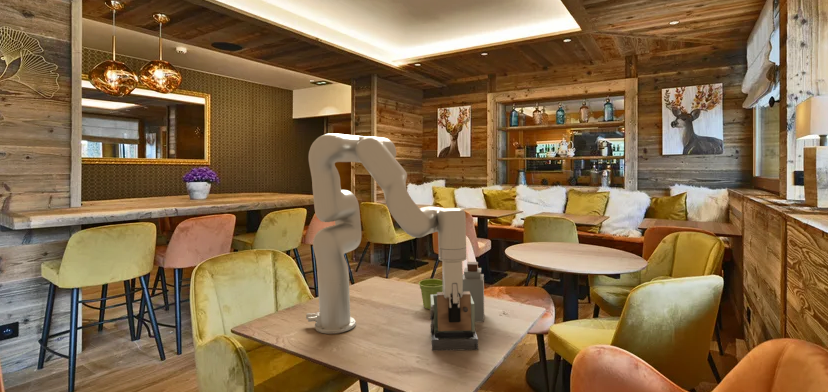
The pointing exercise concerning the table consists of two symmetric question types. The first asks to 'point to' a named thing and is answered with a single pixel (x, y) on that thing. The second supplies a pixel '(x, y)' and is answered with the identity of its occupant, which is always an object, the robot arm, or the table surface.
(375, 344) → the table surface
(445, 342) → the grey brown open box
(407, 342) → the table surface
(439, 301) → the door
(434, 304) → the box
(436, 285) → the plant pot
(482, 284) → the perfume bottle
